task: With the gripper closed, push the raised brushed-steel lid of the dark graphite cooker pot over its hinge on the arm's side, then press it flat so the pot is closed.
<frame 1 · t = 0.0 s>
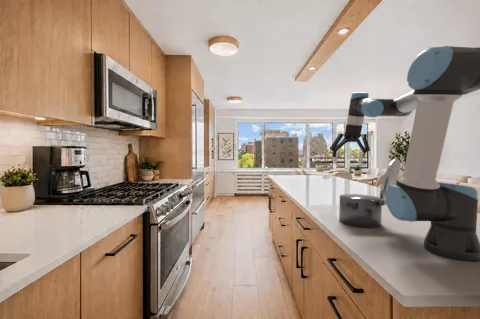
hand: (347, 163, 130), 28 cm above the table, tool tilted 20°, fingers open, 13 cm apart
cooker pot: (359, 222, 116), on the table
cooker lid: (392, 180, 106), point 21 cm above the table, hinge at 102.8°
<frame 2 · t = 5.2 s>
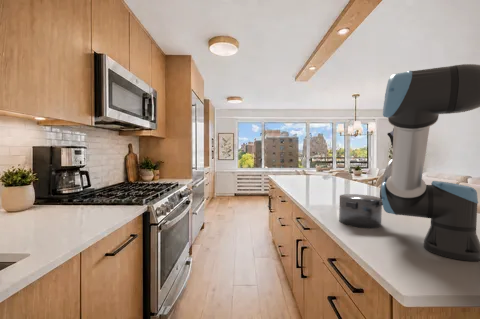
hand: (403, 170, 106), 26 cm above the table, tool pointing down, fingers closed
cooker lid: (392, 180, 107), point 21 cm above the table, hinge at 100.7°, touching gripper
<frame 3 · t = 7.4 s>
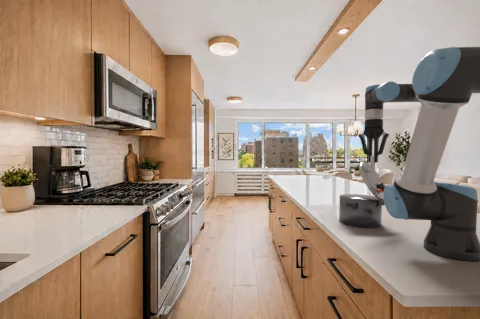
hand: (372, 169, 115), 25 cm above the table, tool pointing down, fingers closed
cooker lid: (375, 179, 111), point 21 cm above the table, hinge at 59.6°, touching gripper
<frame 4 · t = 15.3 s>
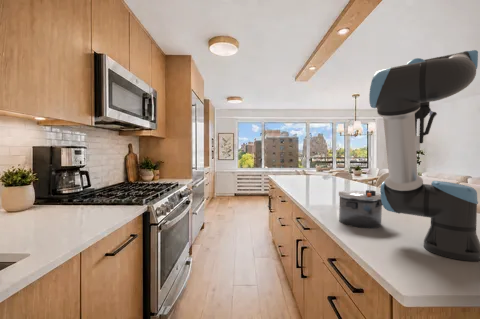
hand: (417, 150, 110), 34 cm above the table, tool pointing down, fingers closed
cooker lid: (360, 193, 116), point 14 cm above the table, hinge at 0.4°
at the end: cooker lid at +0° (first picture: +103°) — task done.
